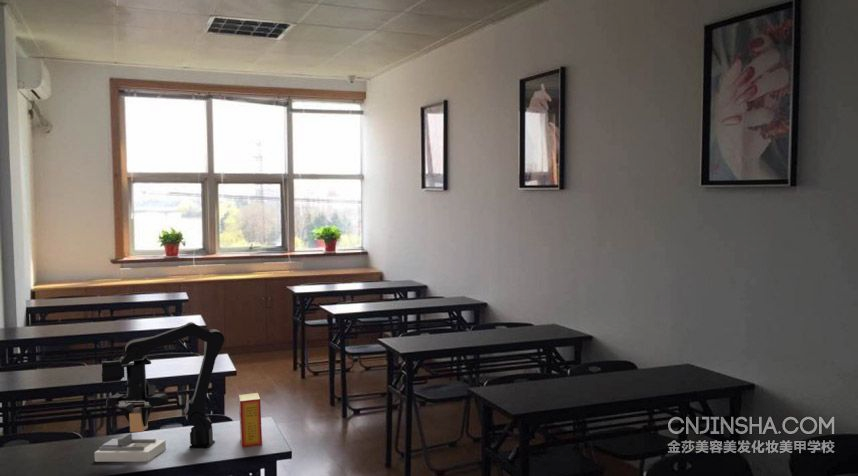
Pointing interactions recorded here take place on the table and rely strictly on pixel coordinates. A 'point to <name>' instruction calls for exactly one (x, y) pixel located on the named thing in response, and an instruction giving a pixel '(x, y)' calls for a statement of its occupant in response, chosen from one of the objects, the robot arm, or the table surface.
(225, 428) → the table surface
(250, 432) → the baking soda box
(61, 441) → the table surface
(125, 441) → the shutter
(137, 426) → the plug
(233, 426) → the table surface
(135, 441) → the board
